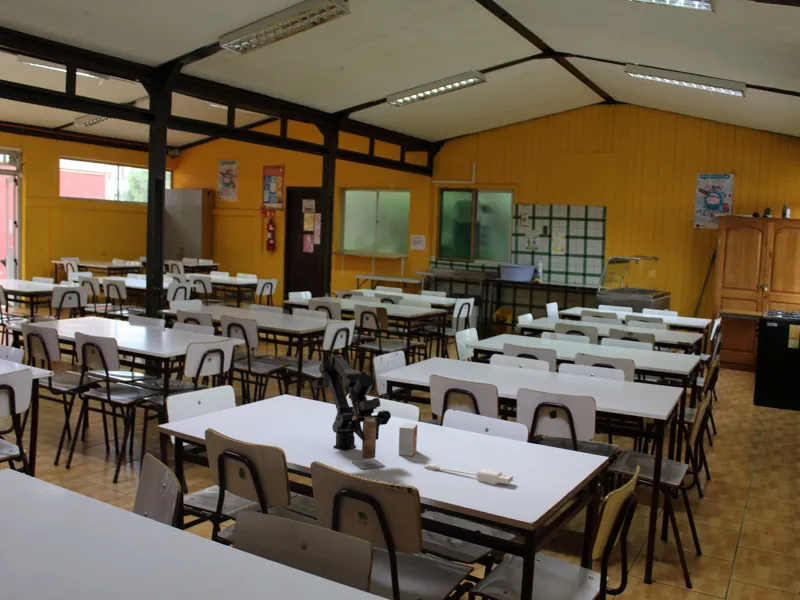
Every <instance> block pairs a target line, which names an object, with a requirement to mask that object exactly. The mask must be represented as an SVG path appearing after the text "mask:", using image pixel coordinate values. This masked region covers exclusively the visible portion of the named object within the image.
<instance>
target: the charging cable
mask: <svg viewBox="0 0 800 600" xmlns="http://www.w3.org/2000/svg"><path fill="white" fill-rule="evenodd" d="M423 467H424V468H426V469H427V470H430V471H439V470H442V471H449V472H453V473H459V474H465V475H466V474H467V475H471V476H472V475H473V476H475V477H476V481H477V482H480V481H482V482H481V483H485V482H488V483H487V484H490V483H493V484H492V485H495V484H497V483H498V484H506V485H509V484H510V483H512V482H513V481H514V475H509V474H503V472H502V471H501V470H500V471H499V470H494V469H488V468H482V469H480V470H477V472H470V471H464V470H458V469H453V468H452V469H451V468H447V467H441V466H440V465H438V464H436V463H429V464H425V465H424V466H423ZM498 484H497V485H498Z"/></svg>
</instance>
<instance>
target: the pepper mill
mask: <svg viewBox="0 0 800 600" xmlns="http://www.w3.org/2000/svg"><path fill="white" fill-rule="evenodd" d="M376 423H377V421H376V420H375V417H365V420H363V422H362V431H363V434H364V438H365V440H364V441H362V440H361V442H362V443H361V458H362V459H363V460H369V459H376V450H377V449H376V448H377V447H376V445H377V444H376V443H377V440H376Z"/></svg>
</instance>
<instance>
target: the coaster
mask: <svg viewBox="0 0 800 600" xmlns="http://www.w3.org/2000/svg"><path fill="white" fill-rule="evenodd" d="M351 462H352V464H353V465H355V466H357V468H359V469H360V470H362V469H363V470H370V469H371V470H372V469H379V468H380V467H381V468H386V465H384V464H383V463H382V462H381V461H379V460H378V459H376V458H373V459H362V460H353V461H351Z"/></svg>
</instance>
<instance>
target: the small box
mask: <svg viewBox="0 0 800 600" xmlns="http://www.w3.org/2000/svg"><path fill="white" fill-rule="evenodd" d="M398 429H399V431H398V432H399V436H398V456H408V457H409V456H411V457H413V456H414V455H415V453H416V452H417V447H418V446H417V443H418V423H408V422H404V423H402V424H401V426H400V427H399V428H398Z"/></svg>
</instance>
